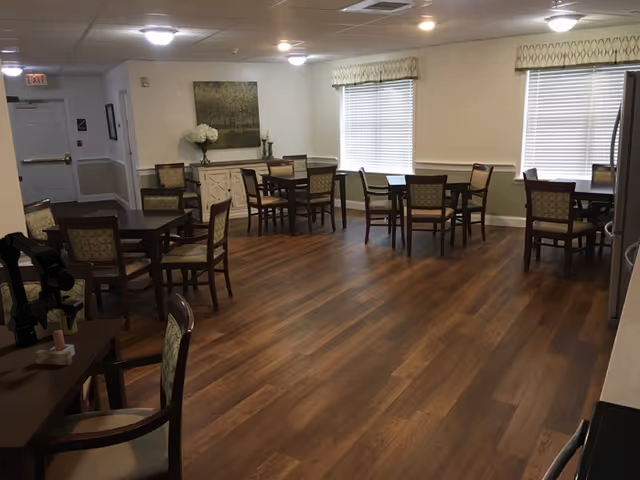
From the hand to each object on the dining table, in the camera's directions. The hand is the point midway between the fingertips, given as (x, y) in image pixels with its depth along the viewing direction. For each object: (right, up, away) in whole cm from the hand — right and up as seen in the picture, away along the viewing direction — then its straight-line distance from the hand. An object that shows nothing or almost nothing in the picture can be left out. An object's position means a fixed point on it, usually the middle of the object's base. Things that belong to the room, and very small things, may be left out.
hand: (57, 329), depth 175 cm
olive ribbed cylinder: (-8, -5, +24) cm, 26 cm away
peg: (0, -9, +2) cm, 10 cm away
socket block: (0, -10, +3) cm, 10 cm away
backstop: (0, -11, -1) cm, 11 cm away
